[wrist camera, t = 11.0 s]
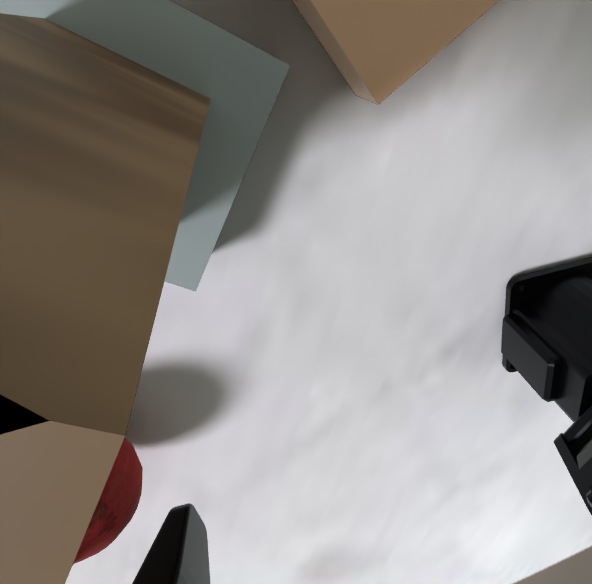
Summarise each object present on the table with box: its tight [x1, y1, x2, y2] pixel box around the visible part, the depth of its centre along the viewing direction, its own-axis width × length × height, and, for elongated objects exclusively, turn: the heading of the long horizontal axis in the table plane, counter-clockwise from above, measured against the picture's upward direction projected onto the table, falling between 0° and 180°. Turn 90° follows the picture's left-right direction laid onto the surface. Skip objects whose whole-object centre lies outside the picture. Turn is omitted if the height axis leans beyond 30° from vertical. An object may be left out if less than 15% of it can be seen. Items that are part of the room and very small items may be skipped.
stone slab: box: [0, 0, 290, 291], centre depth 16 cm, size 9×9×3 cm
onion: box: [73, 438, 142, 564], centre depth 21 cm, size 6×6×8 cm
